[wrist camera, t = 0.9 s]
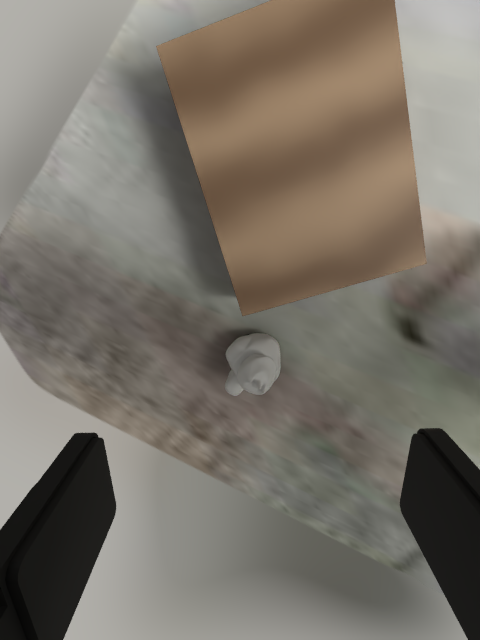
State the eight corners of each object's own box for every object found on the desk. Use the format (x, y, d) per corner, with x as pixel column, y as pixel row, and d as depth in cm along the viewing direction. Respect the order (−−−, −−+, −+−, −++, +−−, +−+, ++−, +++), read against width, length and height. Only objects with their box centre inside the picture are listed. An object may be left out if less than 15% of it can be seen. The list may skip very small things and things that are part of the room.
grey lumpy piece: (293, 347, 32) (307, 389, 25) (249, 390, 34) (250, 442, 26) (252, 314, 31) (254, 347, 24) (210, 360, 33) (199, 404, 25)
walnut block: (391, 253, 29) (426, 263, 23) (243, 296, 31) (242, 316, 25) (354, 15, 24) (388, -47, 18) (176, 83, 25) (156, 46, 19)
